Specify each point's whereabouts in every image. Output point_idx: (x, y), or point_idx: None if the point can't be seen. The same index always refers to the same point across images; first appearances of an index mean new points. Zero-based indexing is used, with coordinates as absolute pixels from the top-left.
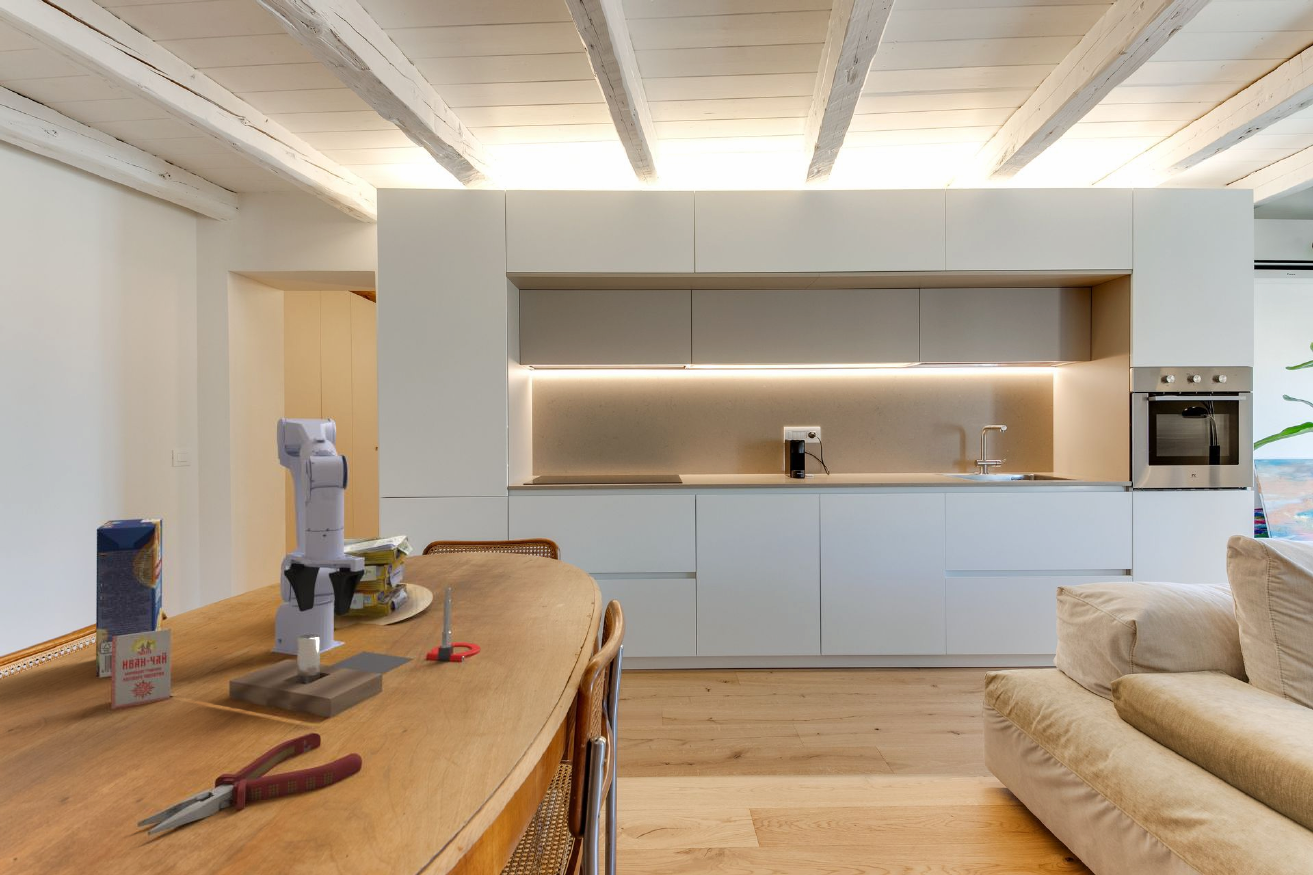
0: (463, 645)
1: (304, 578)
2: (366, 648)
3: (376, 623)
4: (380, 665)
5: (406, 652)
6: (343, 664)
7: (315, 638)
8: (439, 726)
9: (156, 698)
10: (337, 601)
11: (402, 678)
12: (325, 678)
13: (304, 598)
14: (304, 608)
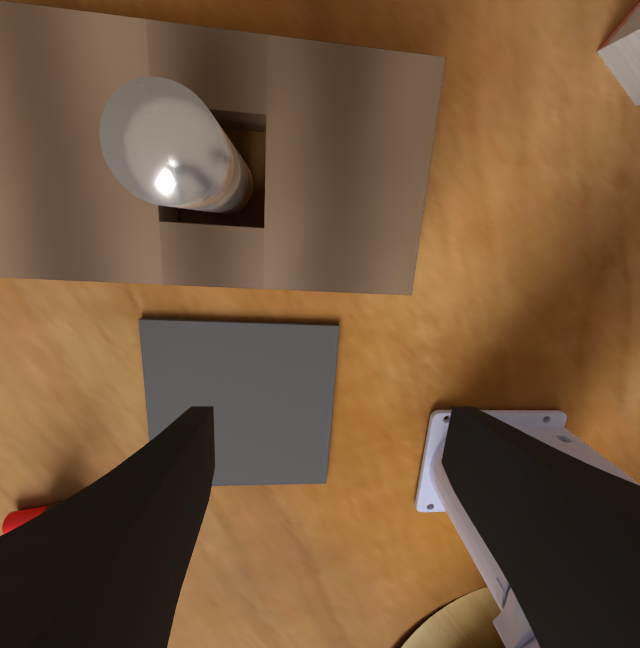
0: None
1: (611, 605)
2: (346, 508)
3: (439, 628)
4: None
5: (225, 520)
6: (306, 396)
7: (108, 139)
8: None
9: (628, 17)
10: (153, 444)
11: (80, 377)
12: None
13: (490, 463)
14: (455, 424)
